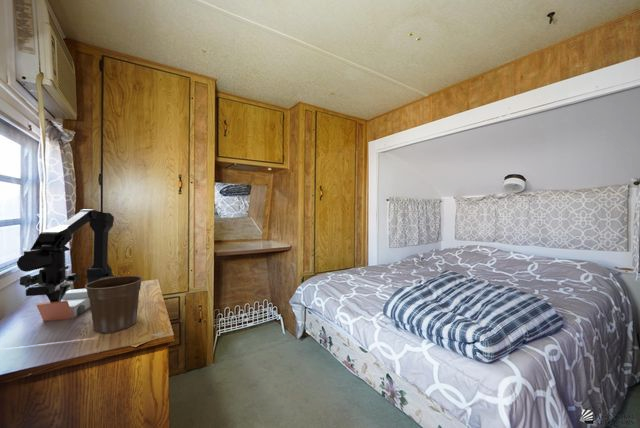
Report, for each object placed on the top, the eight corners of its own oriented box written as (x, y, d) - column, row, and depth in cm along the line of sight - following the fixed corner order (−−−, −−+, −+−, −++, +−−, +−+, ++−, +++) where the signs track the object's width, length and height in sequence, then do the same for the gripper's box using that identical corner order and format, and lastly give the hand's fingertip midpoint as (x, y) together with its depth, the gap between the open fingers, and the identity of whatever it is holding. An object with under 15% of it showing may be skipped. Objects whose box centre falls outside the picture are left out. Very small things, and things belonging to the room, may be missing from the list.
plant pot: (98, 319, 99) (97, 277, 98) (148, 313, 105) (147, 273, 104) (75, 340, 84) (74, 290, 83) (135, 332, 89) (135, 285, 89)
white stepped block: (67, 306, 112) (67, 290, 112) (98, 303, 115) (97, 287, 115) (41, 321, 98) (41, 302, 97) (77, 317, 101) (77, 299, 100)
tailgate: (44, 320, 97) (37, 303, 94) (74, 317, 100) (68, 300, 97) (43, 322, 97) (35, 304, 93) (73, 319, 99) (66, 302, 96)
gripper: (45, 260, 103) (46, 300, 103) (3, 272, 85) (5, 320, 86) (79, 259, 106) (80, 297, 107) (47, 270, 88) (48, 316, 89)
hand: (55, 306), depth 97 cm, fingers closed
